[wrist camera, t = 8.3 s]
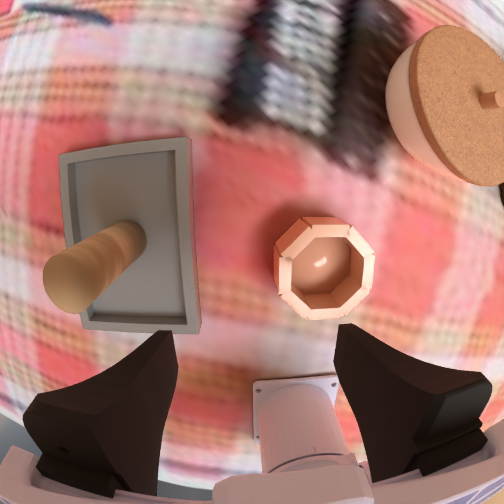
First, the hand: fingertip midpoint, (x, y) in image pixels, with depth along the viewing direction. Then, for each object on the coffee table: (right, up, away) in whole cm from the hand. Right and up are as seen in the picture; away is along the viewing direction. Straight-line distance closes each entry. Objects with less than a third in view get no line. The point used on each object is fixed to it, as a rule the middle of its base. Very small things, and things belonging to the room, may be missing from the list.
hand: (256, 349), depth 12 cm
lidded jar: (+14, +15, +7) cm, 22 cm away
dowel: (-9, +5, +8) cm, 13 cm away
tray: (-9, +5, +9) cm, 14 cm away
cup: (+5, +3, +10) cm, 12 cm away
